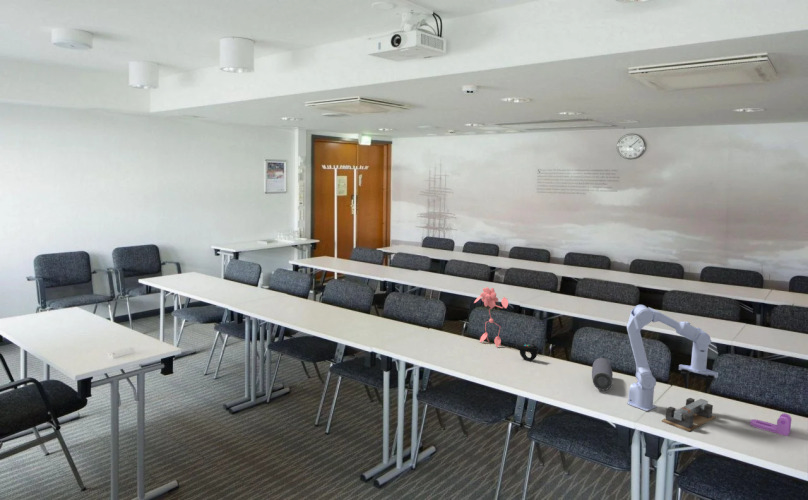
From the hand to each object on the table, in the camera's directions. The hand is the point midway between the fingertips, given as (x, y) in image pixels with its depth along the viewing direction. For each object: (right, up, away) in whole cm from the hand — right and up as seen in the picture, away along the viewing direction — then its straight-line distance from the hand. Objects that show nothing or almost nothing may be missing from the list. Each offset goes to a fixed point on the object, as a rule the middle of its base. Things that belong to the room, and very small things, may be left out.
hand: (696, 389), depth 232 cm
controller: (-58, 0, +64) cm, 86 cm away
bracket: (+21, -12, -14) cm, 28 cm away
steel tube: (-6, -8, -7) cm, 12 cm away
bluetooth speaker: (-29, -5, +30) cm, 43 cm away
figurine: (-76, +3, +88) cm, 116 cm away
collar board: (-7, -10, -8) cm, 15 cm away
